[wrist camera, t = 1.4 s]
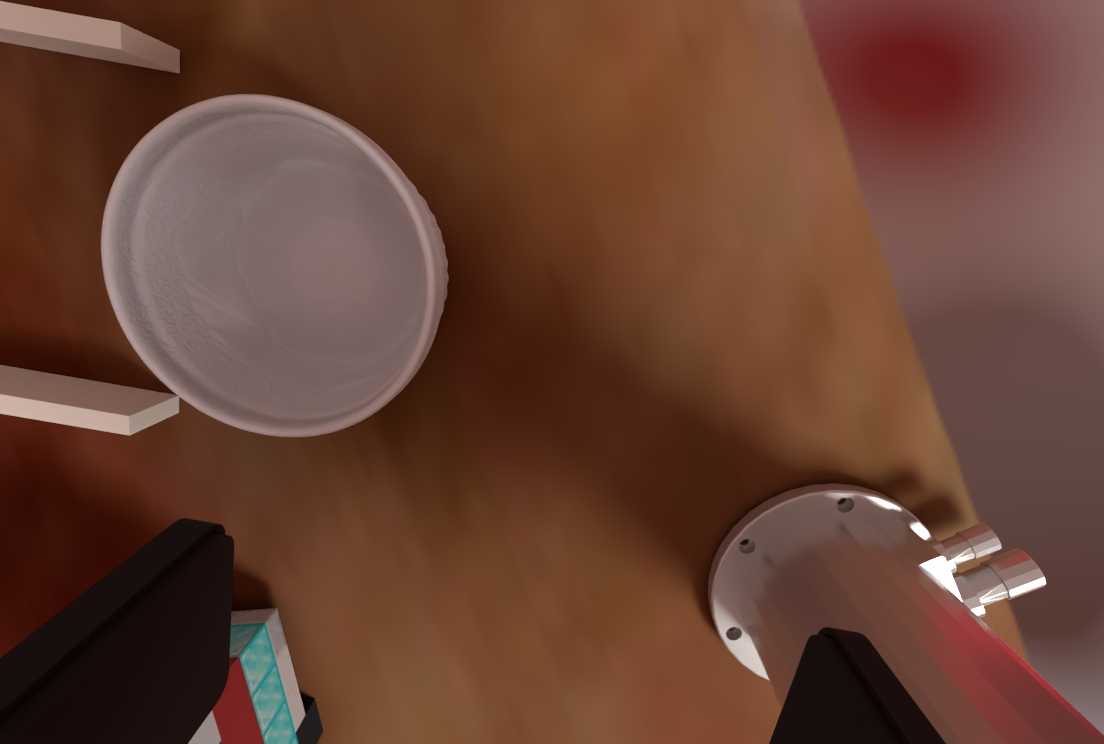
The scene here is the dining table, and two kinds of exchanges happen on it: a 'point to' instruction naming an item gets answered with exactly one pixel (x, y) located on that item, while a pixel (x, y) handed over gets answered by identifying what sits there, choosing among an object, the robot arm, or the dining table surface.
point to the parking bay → (59, 393)
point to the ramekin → (272, 265)
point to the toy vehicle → (260, 689)
